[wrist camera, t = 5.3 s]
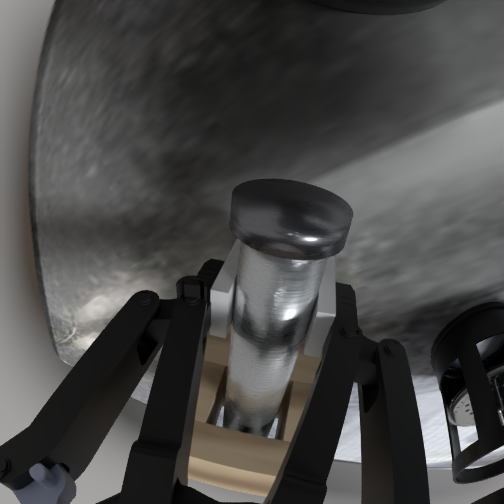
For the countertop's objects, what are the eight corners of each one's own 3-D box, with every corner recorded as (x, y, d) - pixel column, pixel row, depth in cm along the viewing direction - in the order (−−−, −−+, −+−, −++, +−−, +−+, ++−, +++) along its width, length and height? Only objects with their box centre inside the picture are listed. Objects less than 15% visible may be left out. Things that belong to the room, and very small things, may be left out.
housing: (210, 318, 26) (153, 443, 15) (328, 343, 24) (317, 481, 14) (209, 361, 29) (165, 470, 19) (311, 384, 28) (294, 500, 17)
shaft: (247, 172, 14) (215, 212, 10) (348, 192, 13) (359, 240, 9) (223, 413, 25) (209, 457, 21) (273, 425, 24) (264, 469, 21)
